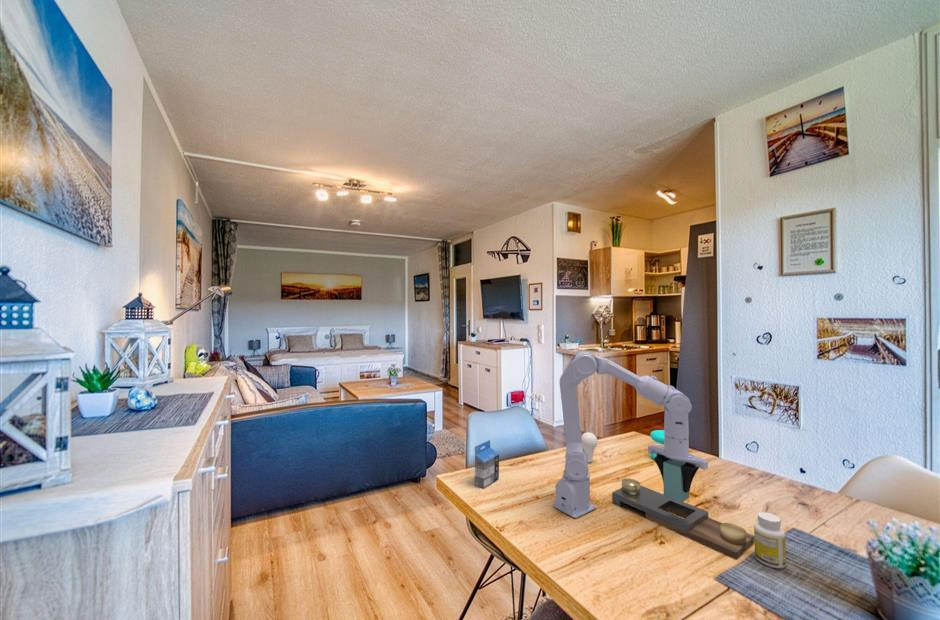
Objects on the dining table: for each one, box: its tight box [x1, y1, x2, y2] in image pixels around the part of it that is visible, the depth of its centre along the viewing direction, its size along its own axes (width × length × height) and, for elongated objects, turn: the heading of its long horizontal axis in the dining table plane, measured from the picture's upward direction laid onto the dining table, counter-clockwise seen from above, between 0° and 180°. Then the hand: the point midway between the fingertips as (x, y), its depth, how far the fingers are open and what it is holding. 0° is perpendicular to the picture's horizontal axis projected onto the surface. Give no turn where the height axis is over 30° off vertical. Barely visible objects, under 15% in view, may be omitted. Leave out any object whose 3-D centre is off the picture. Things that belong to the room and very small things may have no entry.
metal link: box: [611, 478, 709, 532], centre depth 103 cm, size 11×21×5 cm, turn 36°
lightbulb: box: [581, 431, 599, 464], centre depth 138 cm, size 6×6×11 cm
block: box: [663, 459, 690, 503], centre depth 99 cm, size 4×4×9 cm
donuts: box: [649, 429, 664, 460], centre depth 141 cm, size 10×10×10 cm
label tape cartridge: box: [474, 439, 500, 489], centre depth 121 cm, size 9×4×12 cm, turn 143°
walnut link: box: [645, 506, 754, 560], centre depth 95 cm, size 11×21×4 cm, turn 36°
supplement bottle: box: [753, 511, 787, 569], centre depth 83 cm, size 5×5×10 cm
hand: (676, 487), depth 99 cm, fingers closed on block, 4 cm apart
